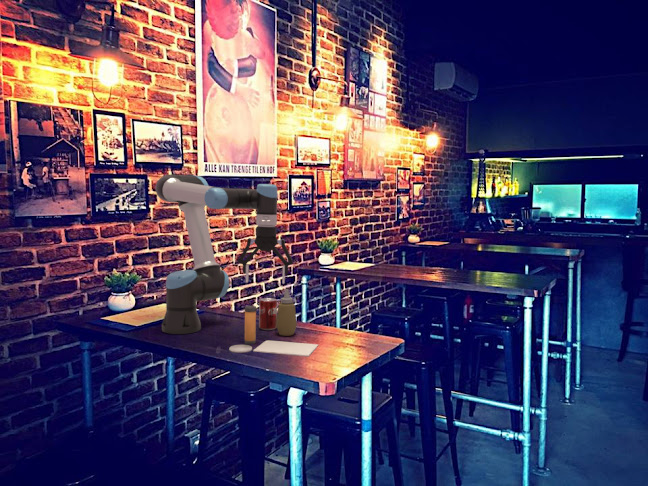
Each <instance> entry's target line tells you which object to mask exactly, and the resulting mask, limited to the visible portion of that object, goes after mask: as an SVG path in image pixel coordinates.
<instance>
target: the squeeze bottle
mask: <svg viewBox="0 0 648 486" xmlns="http://www.w3.org/2000/svg"><path fill="white" fill-rule="evenodd" d="M296 315H297V312H296V304H294V299H293V298H292V297H291V296H290V290H289V288H285V290H284V295H283V297H281V298H280V303H279V304H277V322H276V326H277V328H276V330H277V332H278V334H279V336H283V337H288V336H293V335H294V334H295V331H296V329H297V325H298V324H297V316H296Z"/></svg>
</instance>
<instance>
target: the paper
mask: <svg viewBox="0 0 648 486" xmlns="http://www.w3.org/2000/svg"><path fill="white" fill-rule="evenodd" d="M317 346H318V347H319V344H314V343H305V342H304V343H302V342H292V341H291V342H290V341H279V340H267V339H266V340H265V341H263V342H262V343H261V344H260V345H258V346H257V347H256V348H254V349H252V351H253V352H254V353H257V352H258V353H268V354H279V355H287V356H288V355H289V356H301V357H310V356H311V355H312V354H313V353H314V351H315V350H317V348H318V347H317Z"/></svg>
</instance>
